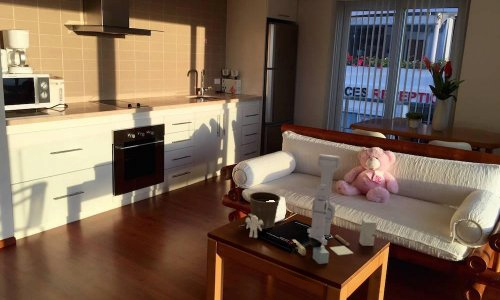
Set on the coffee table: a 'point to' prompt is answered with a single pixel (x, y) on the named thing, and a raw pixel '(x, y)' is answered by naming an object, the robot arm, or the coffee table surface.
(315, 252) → the block
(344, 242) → the dowel
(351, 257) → the coffee table surface
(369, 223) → the skincare box
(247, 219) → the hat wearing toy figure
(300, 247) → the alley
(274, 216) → the plant pot
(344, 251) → the coaster
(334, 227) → the coffee table surface
